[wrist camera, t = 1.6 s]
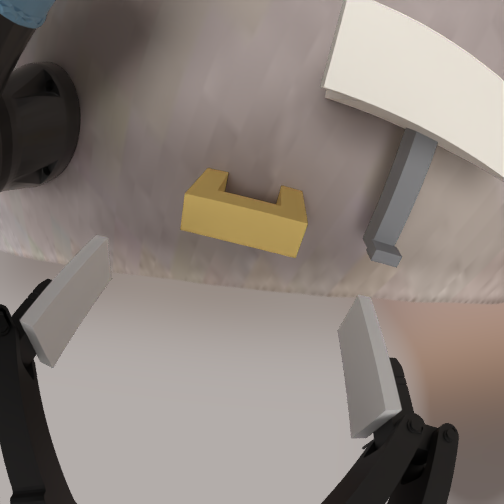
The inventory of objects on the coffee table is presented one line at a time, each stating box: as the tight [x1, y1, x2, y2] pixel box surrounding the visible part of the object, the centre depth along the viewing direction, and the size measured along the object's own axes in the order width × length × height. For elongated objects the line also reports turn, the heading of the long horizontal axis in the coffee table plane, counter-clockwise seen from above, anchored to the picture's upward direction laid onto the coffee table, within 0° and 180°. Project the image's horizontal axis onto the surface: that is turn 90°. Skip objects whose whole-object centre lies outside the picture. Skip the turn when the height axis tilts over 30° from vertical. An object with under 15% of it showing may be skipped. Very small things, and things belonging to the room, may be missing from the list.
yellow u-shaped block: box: [180, 168, 308, 258], centre depth 24 cm, size 9×3×7 cm, turn 77°
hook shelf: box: [320, 0, 504, 268], centre depth 17 cm, size 18×15×13 cm
